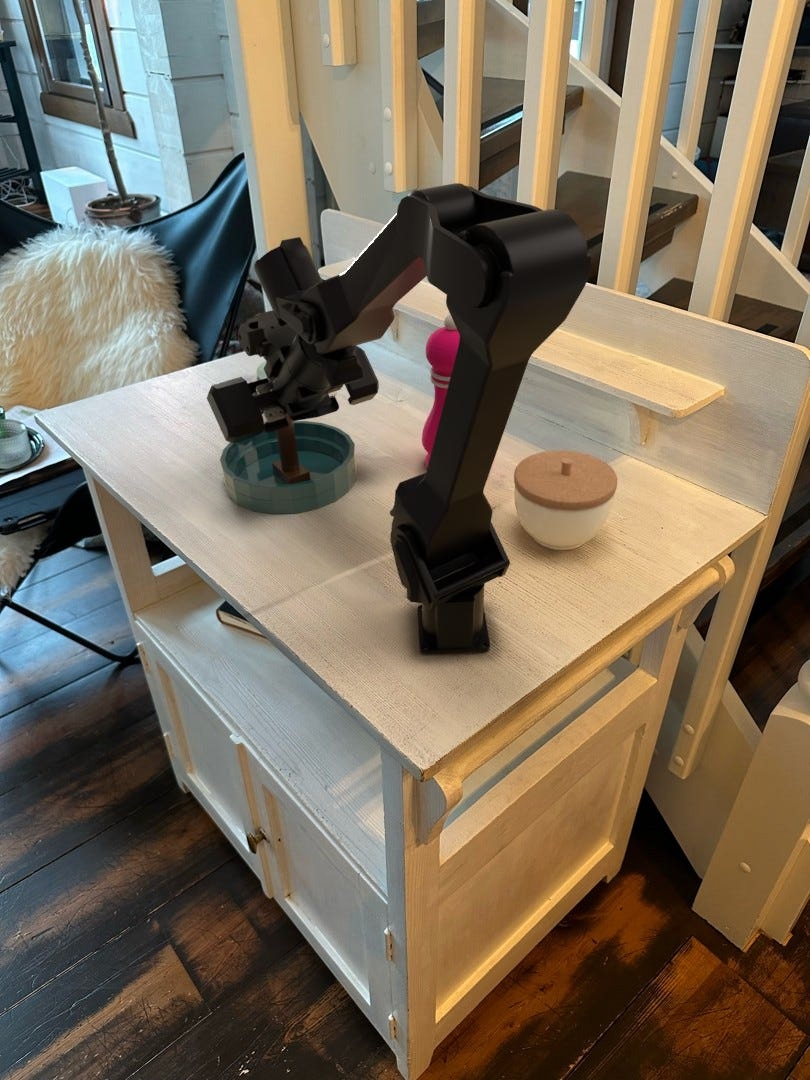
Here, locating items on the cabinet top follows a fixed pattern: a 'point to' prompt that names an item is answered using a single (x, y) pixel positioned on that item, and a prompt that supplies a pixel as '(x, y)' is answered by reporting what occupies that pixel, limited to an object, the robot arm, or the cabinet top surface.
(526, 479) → the trinket box
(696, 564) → the cabinet top surface
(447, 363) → the pepper mill
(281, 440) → the brown wooden post
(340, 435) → the bowl
